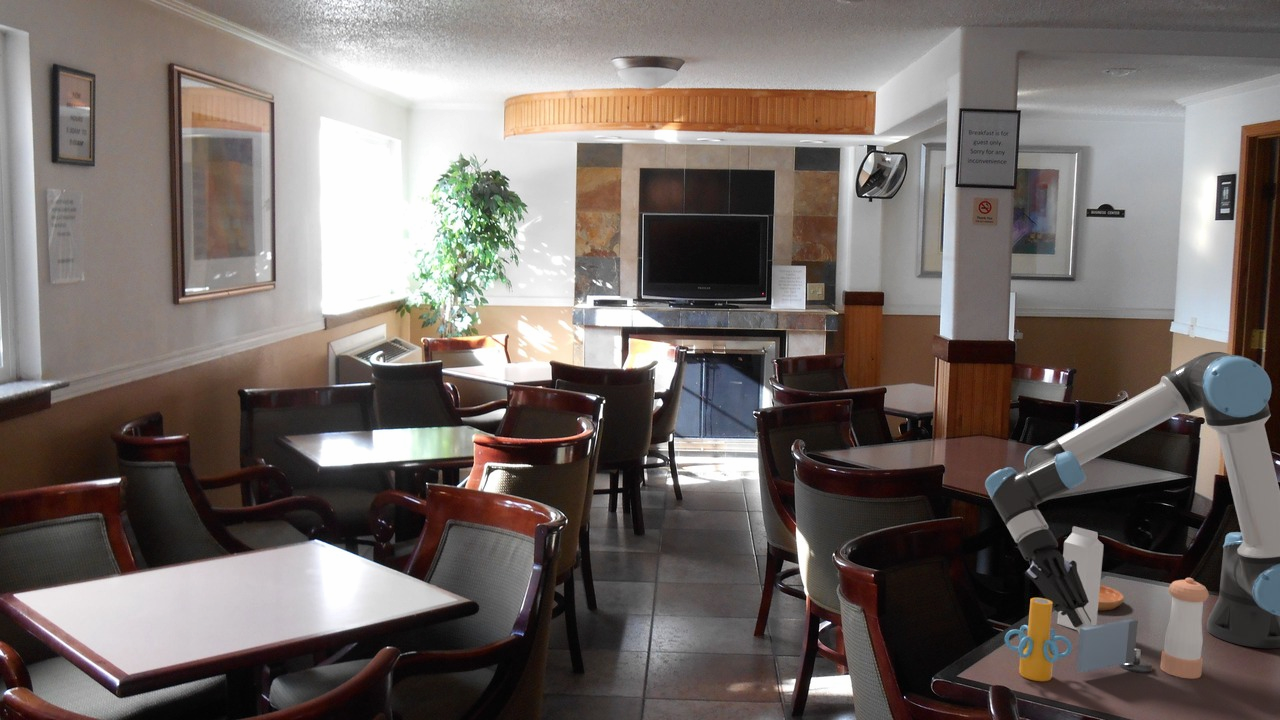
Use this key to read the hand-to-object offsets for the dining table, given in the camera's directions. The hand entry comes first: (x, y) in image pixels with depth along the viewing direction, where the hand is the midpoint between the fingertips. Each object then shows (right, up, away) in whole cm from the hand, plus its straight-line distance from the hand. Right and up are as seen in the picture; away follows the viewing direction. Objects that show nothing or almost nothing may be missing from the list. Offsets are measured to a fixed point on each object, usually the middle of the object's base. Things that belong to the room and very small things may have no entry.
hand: (1091, 640), depth 209 cm
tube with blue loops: (-13, -6, -4) cm, 15 cm away
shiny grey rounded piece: (+10, -6, +3) cm, 12 cm away
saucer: (+17, -3, +44) cm, 47 cm away
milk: (+8, -4, +26) cm, 28 cm away
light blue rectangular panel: (+2, -5, -1) cm, 5 cm away
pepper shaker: (+18, -7, +2) cm, 20 cm away
